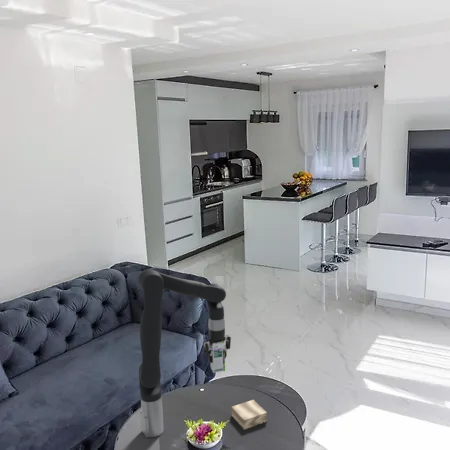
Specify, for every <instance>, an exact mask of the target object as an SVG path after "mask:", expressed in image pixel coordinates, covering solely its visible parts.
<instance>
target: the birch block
mask: <svg viewBox="0 0 450 450" xmlns="http://www.w3.org/2000/svg"><path fill="white" fill-rule="evenodd" d="M231 416H232V418H233V419H234V420H235V421H236V422H237V423H238V425H240V427H241V428H242V429H243V430H245V431H246V430H247V429H249V428H253V427H256V426H258V424H259V425H261V424H264V423H267V422H268V413H267V411H266V410H265V409H264V408H263V406H261V405H260V404H259V403H257V401H256V400H255V399H251V400H249V401H245V402H242V403H239V404H235V405H233V406H231ZM263 422H264V423H263Z"/></svg>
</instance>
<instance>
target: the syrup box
mask: <svg viewBox="0 0 450 450" xmlns="http://www.w3.org/2000/svg"><path fill="white" fill-rule="evenodd" d="M224 345H225V341H223V340H222V342H220V341H219V342H218V343H212V346H211V348H212V350H213V351H212V352H213V354H212V355H213V363H210V369H211V371H212V373H213V374H215V373H221V372H225V371H226V358H225V350H224Z"/></svg>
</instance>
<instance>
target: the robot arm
mask: <svg viewBox="0 0 450 450" xmlns="http://www.w3.org/2000/svg"><path fill="white" fill-rule="evenodd" d="M137 281H138V285H139V286H140V287H141V289H142V291H143V301H144V304H143V305H144V307H143V310H142V314H141V318H140V323H139V341H140V342H139V343H140V350H141V358H142V361H141V364H140V365H139V366H138V367H139V368H138V379H139V381H138V382H139V392H140V393H139V394H140V406H141V411H140V412H139V415H140V425H141V426H140V428H141V431H140V432H142V434H143V435H144V436H145V438H156V437H158V436H161V435H162V434H163V432H164V413H163V398H162V397H163V396H162V395H163V393H162V386H161V385H162V384H161V378H162V372H161V361H160V360H161V359H160V352H161V346H162V345H161V343H162V326H163V325H162V324H163V323H162V313H163V312H162V302H163V301H162V300H163V293H164V292H163V291H164V290H166V291H170V292H174V293H177V294H179V295H183V296H187V297H192V298H196V299H197V298H198V299H202V300H206V303H207V308H208V337H209V339H208V341H203V342H202V344H203V345H202V346H203V347H202V348H203V354H205V355H206V356H207V361H208V362H209V363H210V364H211V363H213V355H212V354H213V352H212V351H213V350H212V348H211V346H212V343H218V342H219V341H220V342H222V340H223V341H224V342H225V343H224V350H225V359H226V357H227V351H228V350H230V349H231V341H232V337H231V336H229V335H228V334H227V335H226V326H225V325H226V323H225V321H226V320H225V309H224V308H225V307H224V305H223V303H222V302H223V301H224V300H225V299H226V297H227V293H226V292H227V291H226V290H225V289H224V288H223V287H222V286H220V285H219V284H217V283H214V282H213V283H210V284H206V283H205V282H204V283H203V282H201V281H197V280H191V279H186V278H185V279H184V278H179V277H175V276H171V275H169V274H168V275H167V274H165V273H162V272H159V271H156V270H154V269H151V268H148V269H144V270H143V271H142V272H140V273H139V275H138V280H137Z"/></svg>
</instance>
